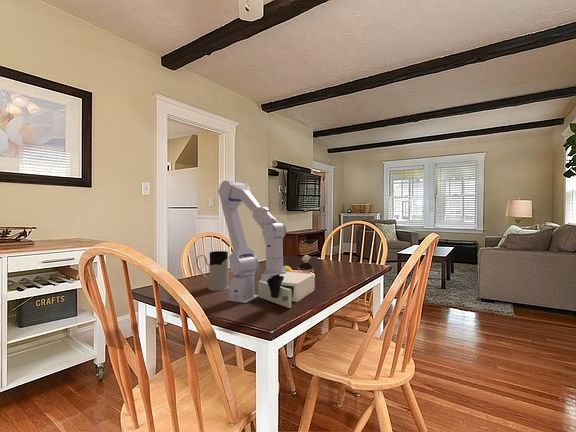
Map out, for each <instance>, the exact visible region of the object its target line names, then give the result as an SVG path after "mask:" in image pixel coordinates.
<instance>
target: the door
mask: <svg viewBox="0 0 576 432" xmlns="http://www.w3.org/2000/svg"><path fill="white" fill-rule="evenodd" d="M257 285H258V286H257V287H258V288H257V290H258V291H257V292H258V293H257V295H258V297H257V298H260V299H264V300H266V301H268V302H271V303H274V304H277V305H280V306H282V307H285V308H287V309H289V308H290V309H291V308H292V305H293V304H292V301H291V289H288V288H284V287H281V286H280V289H279V296H278V298H271V292H270V288H269V285H268V283H267V282H263V281H260V280H258V282H257Z"/></svg>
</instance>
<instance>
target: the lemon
mask: <svg viewBox="0 0 576 432" xmlns="http://www.w3.org/2000/svg"><path fill="white" fill-rule="evenodd" d="M283 267H286V272H293V269H292V268H291V267H290V266H288V265H283Z"/></svg>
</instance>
